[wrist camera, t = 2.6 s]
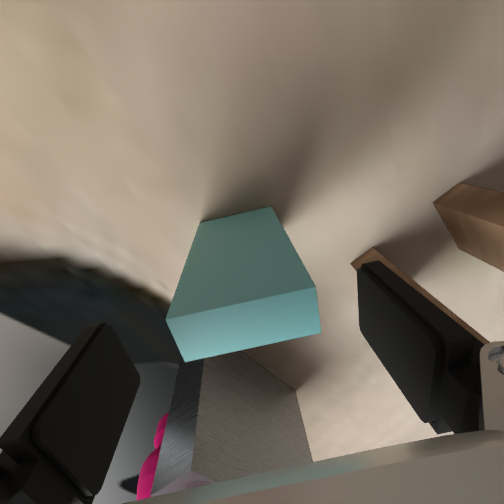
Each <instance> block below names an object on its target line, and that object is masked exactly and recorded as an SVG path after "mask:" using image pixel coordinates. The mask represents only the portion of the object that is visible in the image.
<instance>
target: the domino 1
mask: <svg viewBox="0 0 504 504" xmlns="http://www.w3.org/2000/svg"><path fill="white" fill-rule="evenodd" d="M166 322H167V324H168V326H169V328H170V330H171V333H172V335H173V337H174V339H175V341H176V344H177V346H178V348H179V350H180V352H181V354H182V357H183V359H184V361H185V362H188V361H193V360H198V359H202V358H207V357H212V356H216V355H221V354H226V353H230V352H235V351H240V350H244V349H249V348H254V347H258V346H263V345H267V344H272V343H277V342H281V341H286V340H291V339H295V338H300V337H305V336H309V335H314V334H319V333H321V326H320V318H319V310H318V301H317V293H316V286H315V285H314V283H313V281H312V279H311V277H310V275H309V274H308V272H307V270H306V268H305V266H304V265H303V263H302V261H301V259H300V257H299V255H298V254H297V252H296V250H295V248H294V246H293V245H292V243H291V241H290V239H289V237H288V236H287V234H286V232H285V230H284V228H283V226H282V225H281V223H280V221H279V219H278V217H277V216H276V214H275V212H274V210H273V208H272V206H271V207H266V208H262V209H258V210H253V211H249V212H244V213H240V214H236V215H231V216H227V217H222V218H218V219H214V220H209V221H205V222H200V224H199V226H198V229H197V232H196V235H195V238H194V241H193V243H192V246H191V249H190V252H189V255H188V258H187V260H186V263H185V266H184V269H183V272H182V274H181V277H180V280H179V283H178V286H177V289H176V291H175V294H174V297H173V300H172V303H171V306H170V308H169V311H168V314H167V317H166Z"/></svg>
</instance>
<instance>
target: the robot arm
mask: <svg viewBox="0 0 504 504" xmlns="http://www.w3.org/2000/svg"><path fill="white" fill-rule="evenodd" d="M357 285H358V307H359V326H360V330H361V332H362V334H363V336H364V337H365V339H366V340H367V342H368V343H369V345H370V346H371V348H372V349H373V351H374V352H375V353H376V355H377V356H378V358H379V359H380V361H381V362H382V364H383V365H384V367H385V368H386V370H387V371H388V372H389V374H390V375H391V377H392V378H393V380H394V381H395V383H396V384H397V386H398V387H399V389H400V390H401V391H402V393H403V394H404V396H405V397H406V399H407V400H408V402H409V403H410V405H411V406H412V408H413V409H414V410H415V412H416V413H417V415H418V416H419V418H420V419H421V420H422V421H423V422H424V423H428V422H429V423H430V425H431V426H432V427H433V429H434V430H435V432H436V433H437V434H441V433H446V432H451V431H453V432H454V434H453V435H446V436H440V437H435V438H430V439H425V440H419V441H414V442H409V443H404V444H398V445H393V446H388V447H382V448H377V449H373V450H368V451H363V452H359V453H354V454H349V455H344V456H340V457H335V458H330V459H325V460H321V461H316V462H311V463H306V464H302V465H297V466H292V467H287V468H283V469H278V470H273V471H269V472H264V473H260V474H255V475H250V476H246V477H241V478H236V479H232V480H227V481H223V482H218V483H213V484H209V485H204V486H200V487H195V488H191V489H186V490H181V491H177V492H172V493H168V494H163V495H158V496H154V497H149V498H145V499H141V500H136V501H132V502H127V503H123V504H504V341H495V342H491V343H488V344H486V345H485V344H483V343H482V342H481V341H480V340H478V339H477V338H476V337H475V336H473V335H472V334H471V333H470V332H468V331H467V330H466V329H465V328H463V327H462V326H461V325H460V324H458V323H457V322H456V321H455V320H453V319H452V318H451V317H450V316H448V315H447V314H446V313H445V312H443V311H442V310H441V309H440V308H438V307H437V306H436V305H435V304H433V303H432V302H431V301H430V300H428V299H427V298H426V297H425V296H423V295H422V294H421V293H420V292H418V291H417V290H416V289H414V288H413V287H412V286H411V285H409V284H408V283H407V282H406V281H404V280H403V279H402V278H401V277H399V276H398V275H397V274H396V273H394V272H393V271H392V270H391V269H389V268H388V267H387V266H386V265H384V264H383V263H382V262H381V261H379V260H376V261H372V262H368V263H363V264H362V265H361V268H359V269H357ZM139 385H140V375H139V373H138V371H137V370H136V368H135V366H134V364H133V362H132V361H131V359H130V357H129V355H128V354H127V352H126V350H125V348H124V346H123V345H122V343H121V341H120V339H119V338H118V336H117V334H116V332H115V331H114V329H113V327H112V326H111V325H107V324H106V323H98V324H94V325H90V326H87V327H86V328H84V330H83V331H82V332H81V334H80V335H79V336H78V338H77V339H76V340H75V341H74V343H73V344H72V345H71V347H70V348H69V349H68V351H67V352H66V353H65V355H64V356H63V357H62V358H61V360H60V361H59V362H58V364H57V365H56V366H55V367H54V369H53V370H52V371H51V373H50V374H49V375H48V376H47V378H46V379H45V380H44V382H43V383H42V384H41V386H40V387H39V388H38V389H37V391H36V392H35V393H34V395H33V396H32V397H31V399H30V400H29V401H28V402H27V404H26V405H25V406H24V408H23V409H22V410H21V412H20V413H19V414H18V415H17V417H16V418H15V419H14V421H13V422H12V423H11V424H10V426H9V427H8V428H7V430H6V431H5V432H4V434H3V435H2V436H1V437H0V448H1V449H2V450H3V451H2V452H1V454H0V504H92V502H93V499H94V497H95V495H96V494H98V493H99V491H100V490H101V487H102V485H103V482H104V480H105V477H106V474H107V471H108V469H109V466H110V463H111V461H112V458H113V455H114V452H115V450H116V447H117V444H118V442H119V439H120V436H121V433H122V431H123V428H124V425H125V423H126V420H127V417H128V415H129V412H130V409H131V407H132V404H133V401H134V398H135V396H136V393H137V390H138V388H139Z"/></svg>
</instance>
